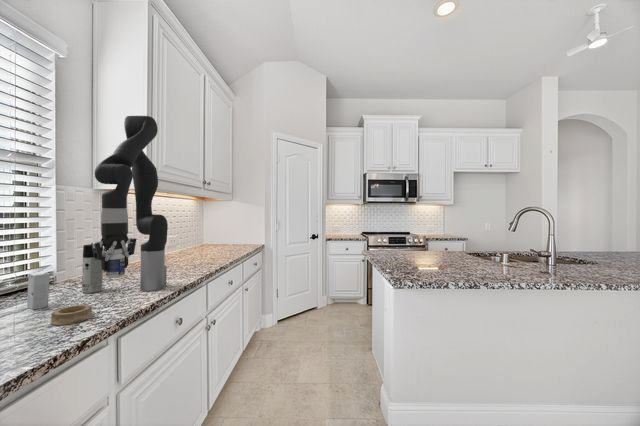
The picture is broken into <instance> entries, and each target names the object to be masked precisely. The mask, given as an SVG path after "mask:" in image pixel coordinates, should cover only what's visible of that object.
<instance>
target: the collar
mask: <svg viewBox="0 0 640 426" xmlns="http://www.w3.org/2000/svg"><path fill="white" fill-rule="evenodd" d="M92 306H93V305H90V304H86V303H85V304H83V303H82V304H75V305H68V306H65V307H61V308H60V307H59V308H57V309H55V310H53V312H52V313H51V319H50V325H53V326H67V325H66V324H69V325H73V323H74V324H79V323H81V321H82V322H85V321H87V320H89V319H91V318H92V317H93V312H92V310H93V309H92ZM86 319H87V320H86ZM84 320H85V321H84Z"/></svg>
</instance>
